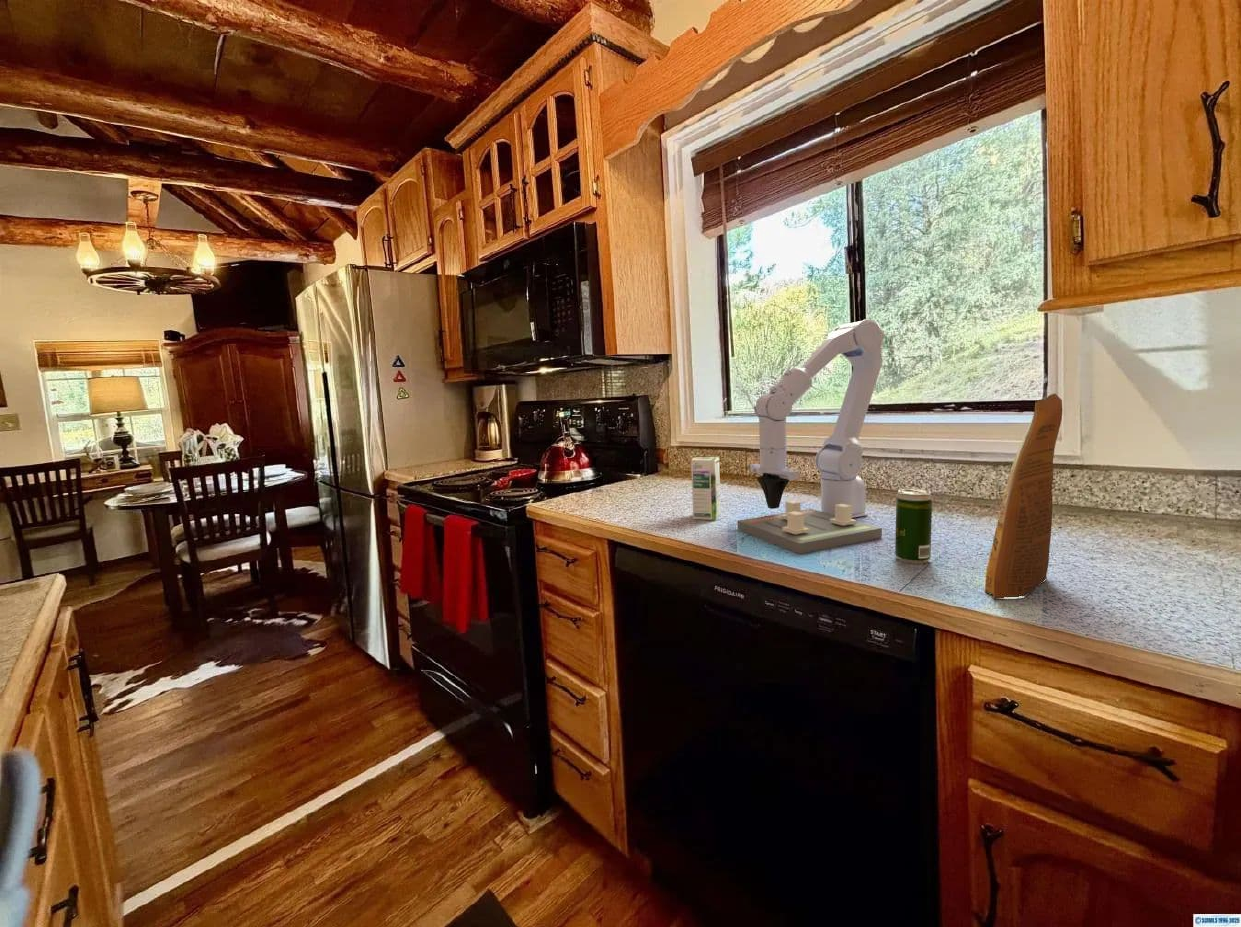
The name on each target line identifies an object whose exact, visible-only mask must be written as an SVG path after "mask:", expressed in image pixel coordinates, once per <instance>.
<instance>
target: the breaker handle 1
mask: <svg viewBox="0 0 1241 927" xmlns="http://www.w3.org/2000/svg"><path fill="white" fill-rule="evenodd" d="M782 530H783V531H786V532H789V533H792V534H800V533H805V532H809V529H808V528H805V527H804V514H803V513H800V512H796V511H794V512H788V513H787V527H782Z"/></svg>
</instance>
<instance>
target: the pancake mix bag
mask: <svg viewBox="0 0 1241 927" xmlns="http://www.w3.org/2000/svg"><path fill="white" fill-rule="evenodd" d="M1034 405H1035V406H1034V412H1033V415H1032V418H1031V421H1030V424H1029V425H1028V428H1027V430H1026V432H1025V433H1024V436H1023V438H1022V441H1021V443H1020V445H1019V446H1018V448H1017V452H1016V455H1015V457H1014V460H1013V463H1012V465H1011V469H1010V472H1009V476H1008V481H1007V484H1006V486H1005V489H1004V494H1003V499H1002V502H1001V507H1000V512H999V514H998V515H999V516H998V519H997V524H996V528H995V531H994V536H993V539H992V540H993V541H992V545H991V549H990V554H989V558H988V563H987V566H986V571H985V581H984V582H985V585H984V593H986V592H987V593H986V594H988V593H991V594H993V595H992V599H993V598H1004V597H1019V596H1025V595H1027V594H1028V593H1030V592H1031V591H1032V590H1033V591H1034V590H1036V589H1037V588H1038V587H1039V586H1040V585H1041V584H1040V583H1041V582H1043V581H1044V580H1045V579H1046V580H1047V574H1048V568H1049V563H1050V561H1049V560H1050V547H1051V535H1052V526H1053V525H1052V524H1053V500H1054V499H1053V482H1054V457H1055V448H1056V444H1057V439H1058V435H1059V432H1060V428H1061V424H1062V419H1063V400H1062V398H1060V397H1059V396H1058V394H1057V393H1051V394H1049V395H1048V396H1047V397H1045V398H1043V399H1039V400H1037V401H1035V403H1034ZM1043 583H1044V582H1043ZM1039 584H1040V585H1039ZM1038 585H1039V586H1038ZM1037 586H1038V587H1037ZM1036 587H1037V588H1036ZM1035 588H1036V589H1035ZM1033 591H1032V592H1033ZM1032 592H1031V593H1032ZM1031 593H1030V594H1031ZM1028 595H1029V594H1028ZM1028 595H1027V596H1028Z"/></svg>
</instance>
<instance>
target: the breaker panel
mask: <svg viewBox="0 0 1241 927" xmlns="http://www.w3.org/2000/svg"><path fill="white" fill-rule="evenodd" d="M801 513H803V514H804V516H806V519H804V527H805V528H808V529H809V532H805V533H800V534H792V533H789V532H786V531H783V530H782V527H787V520H786V519H783V518H781V515H784V514H786V512H784V513H783V512H782V513H776V514H775V513H774V514H770V515H764V516H758V517H757V516H756V517H752V518H751V517H750V518H745V519H738V520H737V530H739V531H741V532H743V533H746V534H748V535H751V536H752V537H753V536H754V537H756V538H759V539H761V540H764V541H765V542H766V541H767V542H768V543H772V544H774V545H777V546H778V547H782V548H784V549H786V550H789V551H792V552H794V553H797V554H800V555H802V554H806V553H811V552H812V553H813V552H816V551H823V550H826V549H827V550H828V549H832V548H836V547H843V546H847V545H848V546H849V545H853V544H857V543H862V542H866V541H867V542H868V541H872V540H876V539H877V538H878V539H882V538H883V537H882V536H883V535H882V534H883V533H882V532H883V531H882V530H883V527H880V526H877V525H876V526H875V525H872V524H869V523H864V522H860V521H857V523H855V524H850V525H844V526H842V525H839V524H835V523H832V522H830V519H833V518H835V515H832V514H829V513H825V512H821V511H820V510H818V509H813V508H809V509H808V508H807V509H801ZM881 537H882V538H881Z"/></svg>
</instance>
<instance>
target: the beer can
mask: <svg viewBox="0 0 1241 927" xmlns="http://www.w3.org/2000/svg"><path fill="white" fill-rule="evenodd" d="M931 494H932V492H931V491H930V490H926V489H918V488H903V489H899V490H898V491H897V495H896V498H895V499H896V502H895V503H896V504H895V537H894V538H895V539H894V540H895V543H894V544H895V545H894V556H895V557H896V559H897V561H899V560H900V561H899V562H901V561H902V563H904V562H905V564H909V563H911V564H910V565H924V564H923V563H925V564H928V563H929V561H930V559H931V553H932V549H931V548H932V525H933V524H932V523H933V522H932V521H933V520H932V519H933V497H932V495H931ZM927 562H928V563H927Z"/></svg>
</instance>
